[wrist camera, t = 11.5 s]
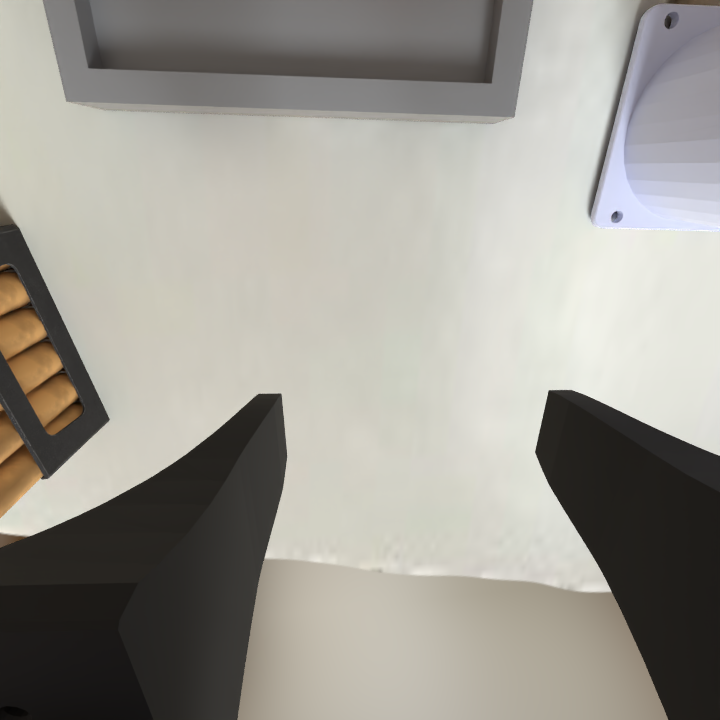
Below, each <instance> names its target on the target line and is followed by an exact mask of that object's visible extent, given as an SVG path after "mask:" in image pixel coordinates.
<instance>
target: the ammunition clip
mask: <svg viewBox="0 0 720 720" xmlns="http://www.w3.org/2000/svg"><path fill="white" fill-rule="evenodd" d="M109 420H110V419H109V417H108V415H107V413H106V411H105V408H104V406H103V404H102V402H101V400H100V398H99V396H98V394H97V392H96V389H95V387H94V385H93V383H92V381H91V379H90V377H89V375H88V373H87V370H86V368H85V366H84V364H83V362H82V360H81V358H80V356H79V354H78V351H77V349H76V347H75V345H74V343H73V341H72V339H71V337H70V335H69V333H68V330H67V328H66V326H65V324H64V322H63V320H62V318H61V316H60V314H59V311H58V309H57V307H56V305H55V303H54V301H53V299H52V297H51V295H50V292H49V290H48V288H47V286H46V284H45V282H44V280H43V278H42V276H41V273H40V271H39V269H38V267H37V265H36V263H35V261H34V259H33V257H32V254H31V252H30V250H29V248H28V246H27V244H26V242H25V240H24V238H23V235H22V233H21V231H20V229H19V228H17V227H16V226H14V225H7V226H0V518H1V517H2V516H3V515H4V514H5V513H6V512H7V511H8V510H9V509H10V508H11V507H12V506H13V505H14V504H15V503H16V502H17V501H18V500H19V499H20V498H21V497H22V496H23V495H24V494H25V493H26V492H27V491H28V490H29V489H30V488H31V487H32V486H33V485H34V484H35V483H36V482H37V481H38V480H39V479H40V478H41V479H48V478H49V477H50V476H52V475H53V474H54V473H55V472H56V471H57V470H58V469H59V468H60V467H61V466H62V465H63V464H64V463H65V462H66V461H67V460H68V459H69V458H70V457H71V456H72V455H73V454H74V453H76V452H77V451H78V450H79V449H80V448H81V447H82V446H83V445H84V444H85V443H86V442H87V441H88V440H89V439H90V438H91V437H92V436H93V435H94V434H96V433H97V432H98V431H99V430H100V429H101V428H102V427H103V426H104V425H105V424H106V423H107V422H108V421H109Z"/></svg>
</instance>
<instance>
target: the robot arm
mask: <svg viewBox="0 0 720 720" xmlns="http://www.w3.org/2000/svg"><path fill="white" fill-rule="evenodd" d="M667 15H668V16H670V17H671V26H670V28H669V29H667V28H666V27H665V25H664V23H665V18H666V16H667ZM615 211H617V213H618V216H617V218H616V220H614V221H613V222H612V221H611V216H612V214H613V213H614V212H615ZM591 222H592V224H593V225H594V226H596V227H600V228H617V229H653V230H690V231H720V6H710V5H687V4H664V3H662V4H657V5H655V6H653V7H651V8H650V9H648V10H647V11H646V12H645V13H644V14H643V16H642V18H641V20H640V23H639V27H638V31H637V35H636V39H635V43H634V47H633V51H632V55H631V59H630V63H629V67H628V71H627V74H626V78H625V82H624V86H623V90H622V94H621V98H620V102H619V106H618V110H617V114H616V118H615V122H614V126H613V130H612V134H611V138H610V142H609V146H608V150H607V154H606V158H605V162H604V166H603V170H602V174H601V177H600V181H599V185H598V189H597V193H596V197H595V201H594V205H593V209H592V213H591ZM535 453H536V455H537V458H538V460H539V463H540V465H541V468H542V470H543V472H544V475H545V477H546V479H547V481H548V483H549V485H550V487H551V489H552V490H553V492H554V494H555V495H556V497H557V499H558V500H559V502H560V504H561V505H562V507H563V509H564V510H565V512H566V514H567V515H568V517H569V518H570V520H571V522H572V523H573V525H574V526H575V528H576V530H577V531H578V533H579V535H580V536H581V538H582V539H583V541H584V543H585V544H586V546H587V547H588V549H589V551H590V552H591V554H592V556H593V557H594V559H595V561H596V562H597V564H598V566H599V568H600V569H601V571H602V573H603V575H604V577H605V579H606V581H607V583H608V585H609V587H610V589H611V591H612V593H613V595H614V597H615V599H616V601H617V603H618V605H619V607H620V609H621V611H622V613H623V615H624V617H625V620H626V622H627V624H628V626H629V629H630V631H631V633H632V635H633V638H634V640H635V642H636V644H637V646H638V649H639V651H640V653H641V655H642V657H643V660H644V662H645V664H646V667H647V669H648V672H649V674H650V676H651V679H652V681H653V684H654V686H655V688H656V691H657V693H658V696H659V698H660V700H661V703H662V705H663V707H664V710H665V712H666V715H667V717H668V720H720V456H718V455H716V454H713V453H711V452H708V451H706V450H703V449H701V448H698V447H696V446H694V445H692V444H689V443H687V442H685V441H682V440H680V439H678V438H675V437H673V436H671V435H669V434H666V433H664V432H662V431H660V430H658V429H656V428H653V427H651V426H649V425H647V424H645V423H643V422H641V421H639V420H637V419H635V418H632V417H630V416H628V415H626V414H624V413H622V412H620V411H618V410H616V409H614V408H612V407H610V406H608V405H606V404H603V403H601V402H599V401H597V400H595V399H593V398H590V397H588V396H586V395H583V394H581V393H578V392H575V391H572V390H549V392H548V396H547V401H546V405H545V410H544V414H543V419H542V423H541V428H540V433H539V437H538V442H537V446H536V451H535ZM286 461H287V449H286V438H285V427H284V416H283V406H282V395H281V394H258V395H257V396H255V397H254V398H253V399H252V400H251V401H250V402H249V403H247V404H246V405H245V406H244V407H243V408H242V409H241V410H240V411H239V412H238V413H236V414H235V415H234V416H233V417H232V418H231V419H230V420H228V421H227V422H226V423H225V424H224V425H223V426H222V427H220V428H219V429H218V430H217V431H216V432H214V433H213V434H212V435H211V436H209V437H208V438H207V439H205V440H204V441H203V442H202V443H200V444H199V445H198V446H196V447H195V448H194V449H193V450H191V451H190V452H189V453H187V454H186V455H185V456H183V457H182V458H180V459H179V460H177V461H176V462H174V463H173V464H172V465H170V466H168V467H167V468H165V469H164V470H162V471H161V472H159V473H157V474H156V475H154V476H153V477H151V478H149V479H148V480H146V481H144V482H142V483H141V484H139V485H137V486H135V487H133V488H131V489H130V490H128V491H126V492H124V493H122V494H120V495H119V496H117V497H115V498H113V499H111V500H109V501H108V502H106V503H104V504H102V505H100V506H98V507H95V508H93V509H91V510H89V511H87V512H85V513H83V514H81V515H79V516H77V517H74V518H72V519H70V520H67V521H65V522H63V523H61V524H58V525H56V526H54V527H52V528H49V529H47V530H45V531H42V532H40V533H37V534H35V535H32V536H30V537H27V538H25V539H22V540H20V541H17V542H14V543H11V544H9V545H6V546H4V547H1V548H0V720H237V718H238V710H239V703H240V696H241V689H242V682H243V675H244V667H245V662H246V655H247V648H248V642H249V636H250V629H251V623H252V617H253V611H254V605H255V599H256V593H257V587H258V582H259V577H260V573H261V569H262V564H263V561H264V557H265V553H266V550H267V546H268V542H269V539H270V535H271V531H272V528H273V524H274V520H275V516H276V513H277V509H278V505H279V501H280V498H281V494H282V490H283V484H284V477H285V469H286Z"/></svg>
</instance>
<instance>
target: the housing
mask: <svg viewBox="0 0 720 720" xmlns="http://www.w3.org/2000/svg"><path fill="white" fill-rule="evenodd" d="M43 3H44V8H45V12H46V16H47V20H48V25H49V29H50V33H51V37H52V42H53V46H54V50H55V55H56V59H57V63H58V67H59V72H60V76H61V80H62V85H63V89H64V93H65V97H66V102H71V103H75V104H80V105H84V106H89V107H93V108H97V109H102V110H114V111H143V112H172V113H201V114H229V115H258V116H287V117H316V118H345V119H373V120H402V121H431V122H460V123H489V124H493V123H497V122H500V121H504V120H507V119H510V118H514V116H515V110H516V104H517V98H518V91H519V85H520V79H521V73H522V67H523V61H524V54H525V48H526V42H527V36H528V30H529V23H530V17H531V11H532V5H533V0H43Z"/></svg>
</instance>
